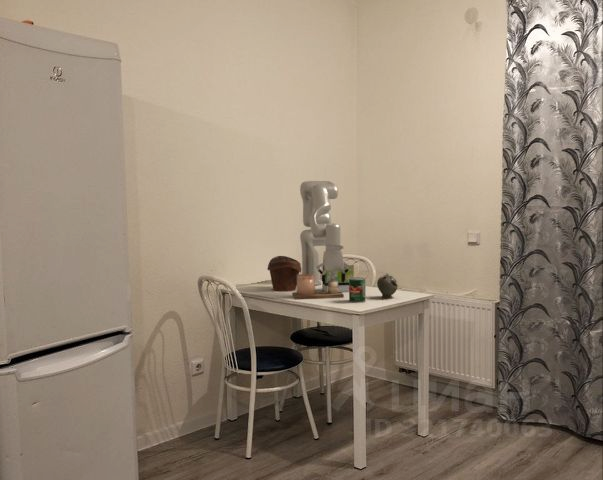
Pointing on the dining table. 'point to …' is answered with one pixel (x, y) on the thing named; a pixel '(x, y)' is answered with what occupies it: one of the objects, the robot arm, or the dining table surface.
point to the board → (318, 295)
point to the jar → (305, 284)
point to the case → (284, 273)
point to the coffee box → (339, 279)
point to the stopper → (333, 286)
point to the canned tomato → (357, 290)
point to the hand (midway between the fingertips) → (333, 282)
